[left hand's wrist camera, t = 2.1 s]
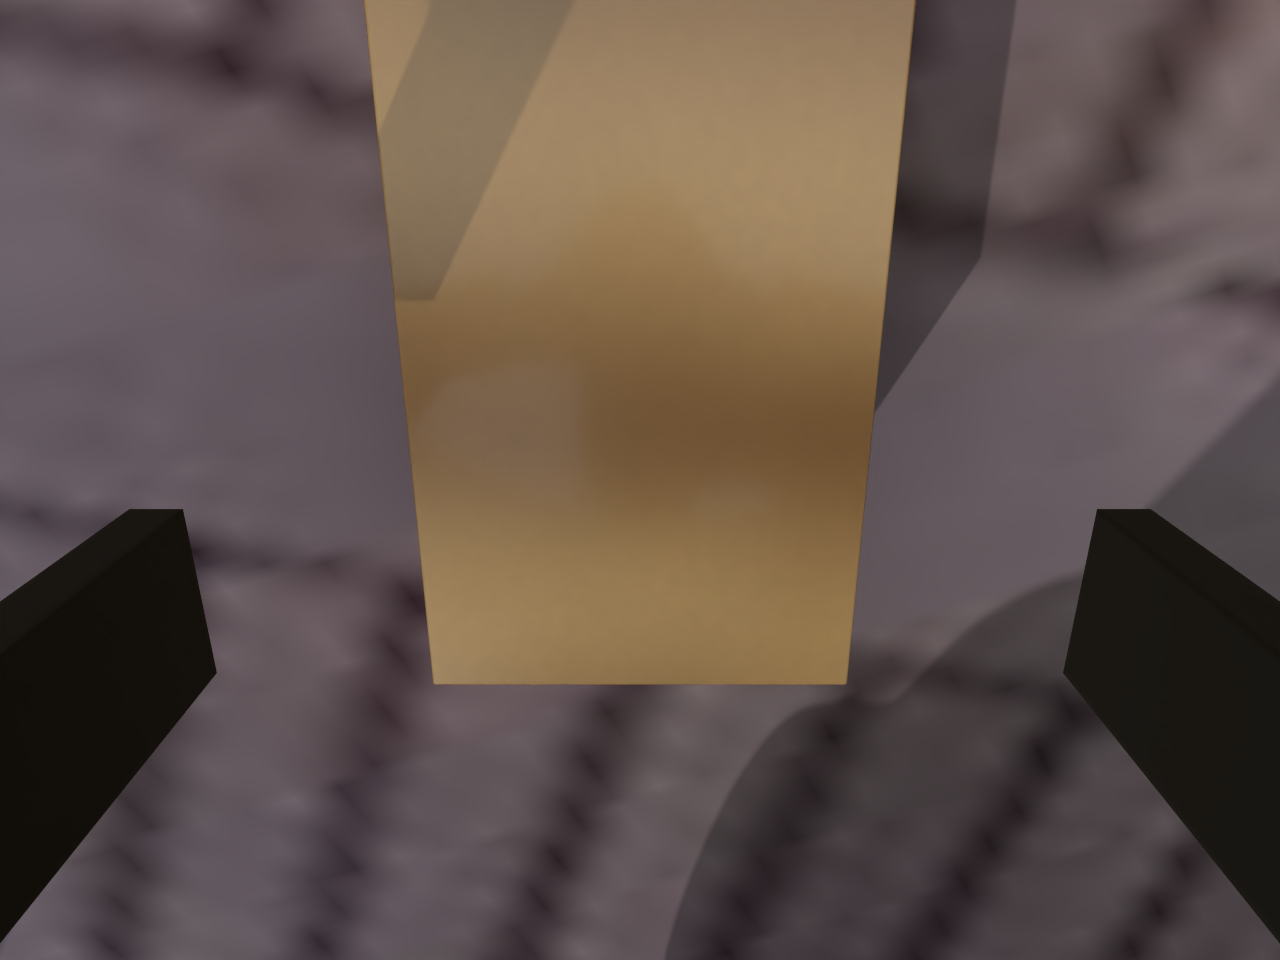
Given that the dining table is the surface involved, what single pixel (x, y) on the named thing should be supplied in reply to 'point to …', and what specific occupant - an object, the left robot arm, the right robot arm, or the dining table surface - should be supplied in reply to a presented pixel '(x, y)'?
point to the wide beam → (640, 325)
